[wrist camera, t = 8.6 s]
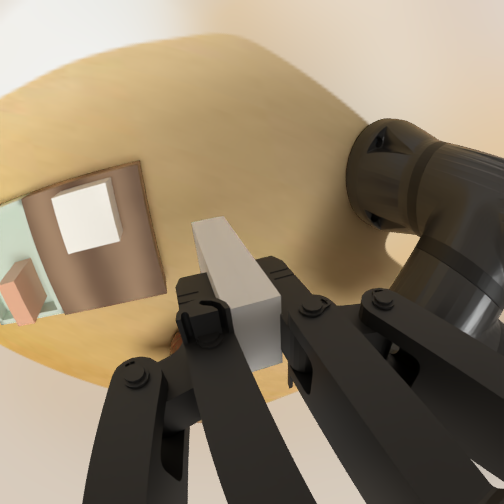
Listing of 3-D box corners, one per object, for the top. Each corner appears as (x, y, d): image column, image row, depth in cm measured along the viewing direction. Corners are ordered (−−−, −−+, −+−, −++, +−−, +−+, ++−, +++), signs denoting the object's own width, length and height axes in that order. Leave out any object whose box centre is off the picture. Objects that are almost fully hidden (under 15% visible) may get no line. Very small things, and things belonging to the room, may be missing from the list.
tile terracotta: (13, 281, 19) (-3, 285, 18) (34, 323, 21) (18, 326, 20) (30, 257, 23) (15, 262, 22) (47, 296, 25) (31, 299, 25)
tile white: (110, 176, 21) (105, 182, 19) (123, 230, 23) (119, 241, 21) (60, 191, 20) (51, 198, 18) (75, 242, 22) (68, 254, 20)
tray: (31, 192, 21) (20, 199, 19) (69, 299, 27) (64, 312, 25) (-31, 218, 18) (-42, 227, 16) (8, 312, 25) (1, 324, 22)
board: (139, 160, 24) (137, 164, 21) (165, 278, 30) (167, 293, 27) (32, 191, 21) (21, 199, 18) (70, 299, 27) (65, 314, 25)
